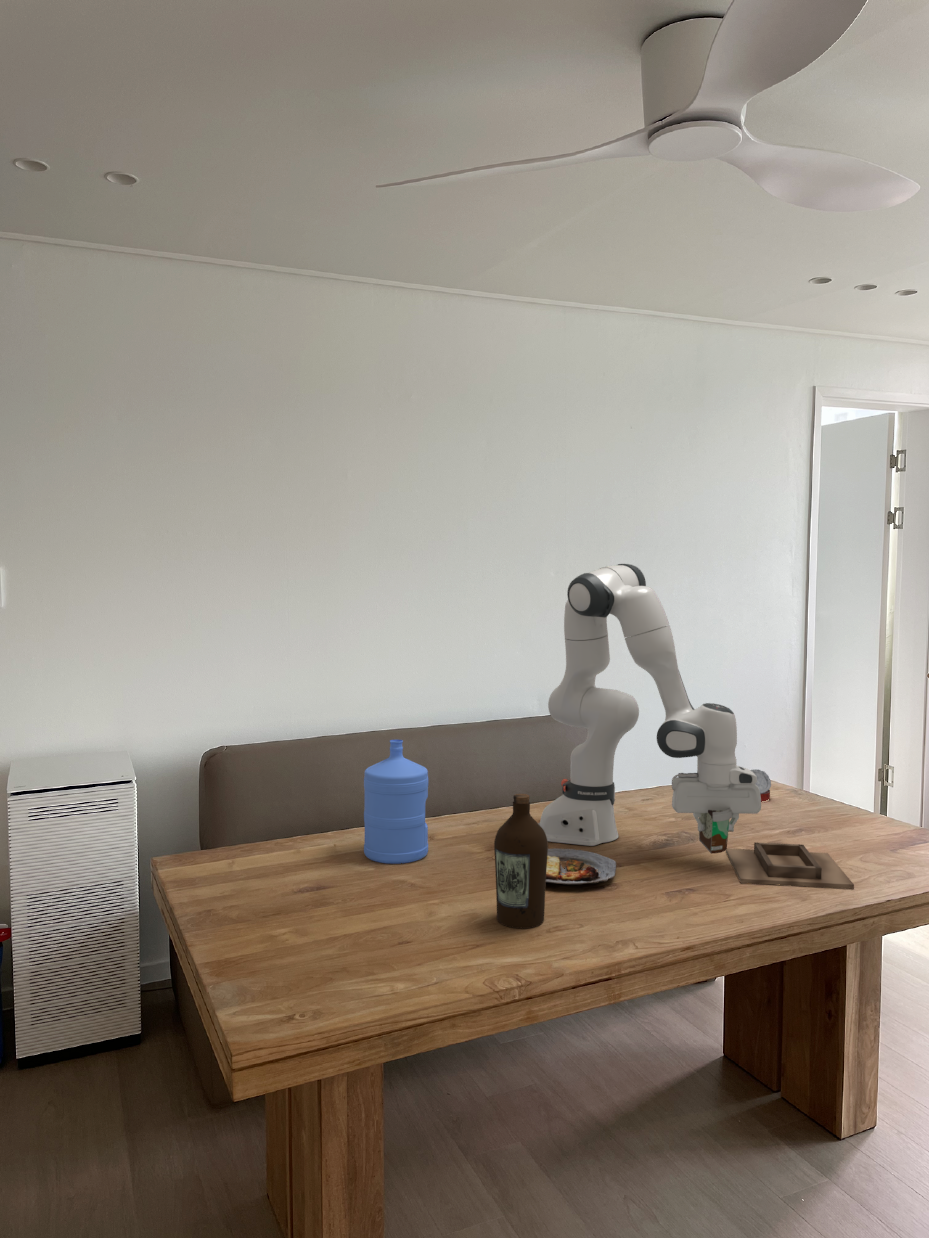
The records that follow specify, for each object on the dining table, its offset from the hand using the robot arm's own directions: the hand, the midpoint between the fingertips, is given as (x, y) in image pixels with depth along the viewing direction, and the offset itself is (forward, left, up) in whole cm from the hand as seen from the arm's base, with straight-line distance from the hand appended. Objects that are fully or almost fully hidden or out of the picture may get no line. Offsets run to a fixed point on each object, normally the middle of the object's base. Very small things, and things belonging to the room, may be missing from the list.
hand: (715, 831), depth 211 cm
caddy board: (+16, -1, -8) cm, 18 cm away
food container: (+1, 0, -4) cm, 4 cm away
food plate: (-35, -11, -9) cm, 38 cm away
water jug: (-76, -4, -8) cm, 77 cm away
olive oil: (-43, -40, -8) cm, 59 cm away
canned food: (+20, +65, -9) cm, 69 cm away
